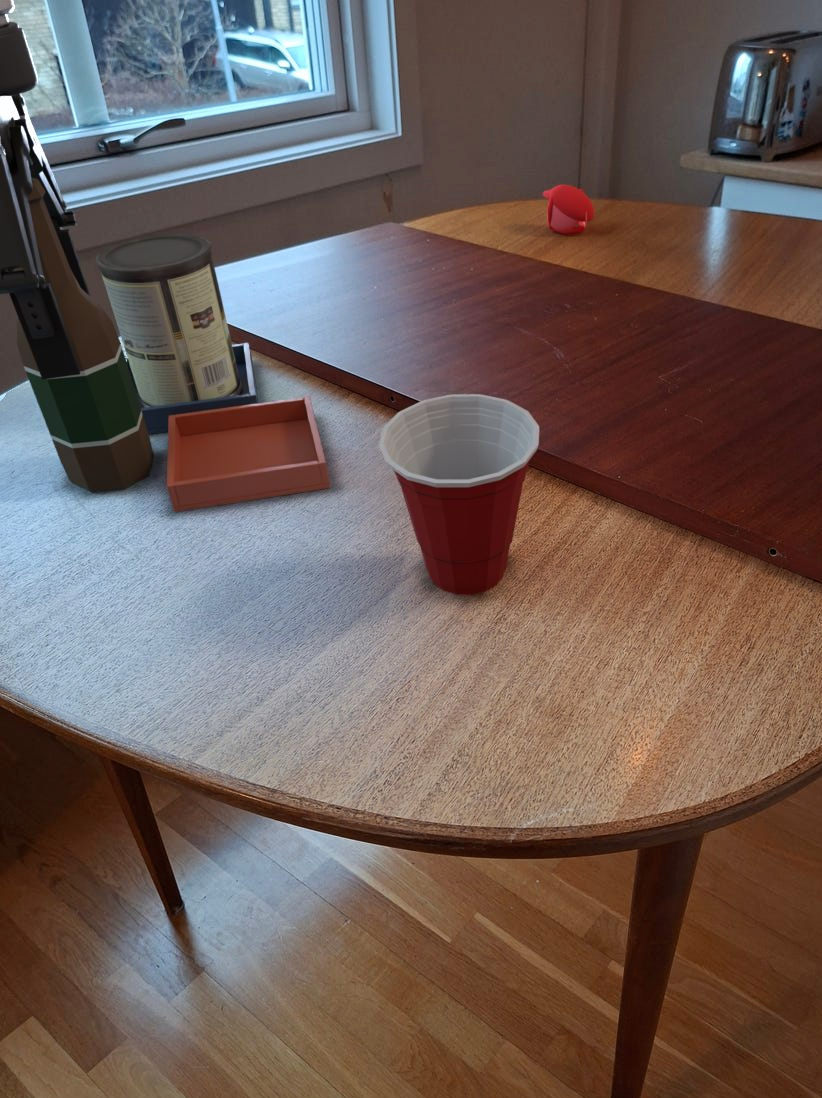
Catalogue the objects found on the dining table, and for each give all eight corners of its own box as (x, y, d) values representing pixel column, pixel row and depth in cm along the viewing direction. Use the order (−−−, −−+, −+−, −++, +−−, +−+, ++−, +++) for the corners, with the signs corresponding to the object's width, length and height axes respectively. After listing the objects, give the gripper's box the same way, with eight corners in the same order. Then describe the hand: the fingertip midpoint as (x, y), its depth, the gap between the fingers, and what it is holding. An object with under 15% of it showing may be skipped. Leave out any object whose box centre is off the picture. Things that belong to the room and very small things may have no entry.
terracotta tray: (174, 512, 74) (166, 486, 72) (175, 439, 83) (168, 415, 82) (330, 488, 76) (326, 462, 74) (313, 419, 86) (309, 396, 84)
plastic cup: (373, 607, 63) (352, 461, 55) (420, 525, 71) (408, 387, 63) (519, 630, 61) (519, 481, 53) (551, 543, 69) (555, 401, 61)
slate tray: (121, 438, 84) (114, 414, 82) (128, 380, 94) (121, 358, 92) (260, 418, 86) (255, 395, 84) (253, 364, 96) (248, 342, 94)
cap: (599, 227, 129) (602, 182, 125) (586, 239, 125) (588, 193, 121) (548, 221, 132) (549, 178, 128) (534, 233, 127) (534, 188, 123)
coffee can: (166, 370, 94) (127, 231, 85) (257, 375, 93) (228, 234, 83) (120, 414, 86) (73, 267, 77) (219, 420, 85) (182, 271, 76)
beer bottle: (173, 454, 81) (90, 168, 65) (130, 498, 76) (27, 197, 60) (98, 447, 83) (0, 165, 67) (50, 489, 77) (-70, 193, 61)
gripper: (-13, 42, 49) (108, 399, 62) (41, 1, 67) (125, 284, 81) (-160, 53, 47) (-3, 415, 61) (-64, 8, 66) (40, 294, 80)
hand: (70, 341), depth 71 cm, fingers open, 13 cm apart
